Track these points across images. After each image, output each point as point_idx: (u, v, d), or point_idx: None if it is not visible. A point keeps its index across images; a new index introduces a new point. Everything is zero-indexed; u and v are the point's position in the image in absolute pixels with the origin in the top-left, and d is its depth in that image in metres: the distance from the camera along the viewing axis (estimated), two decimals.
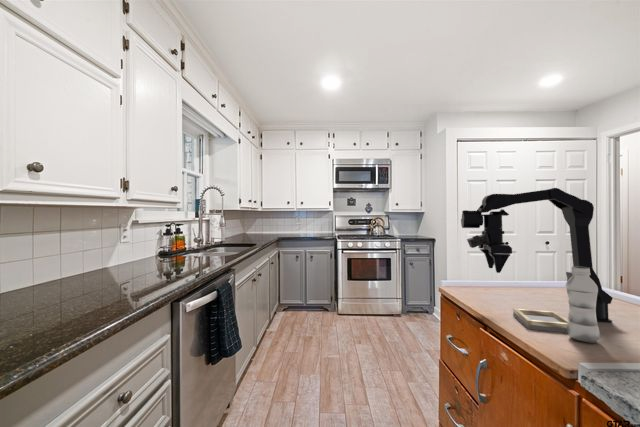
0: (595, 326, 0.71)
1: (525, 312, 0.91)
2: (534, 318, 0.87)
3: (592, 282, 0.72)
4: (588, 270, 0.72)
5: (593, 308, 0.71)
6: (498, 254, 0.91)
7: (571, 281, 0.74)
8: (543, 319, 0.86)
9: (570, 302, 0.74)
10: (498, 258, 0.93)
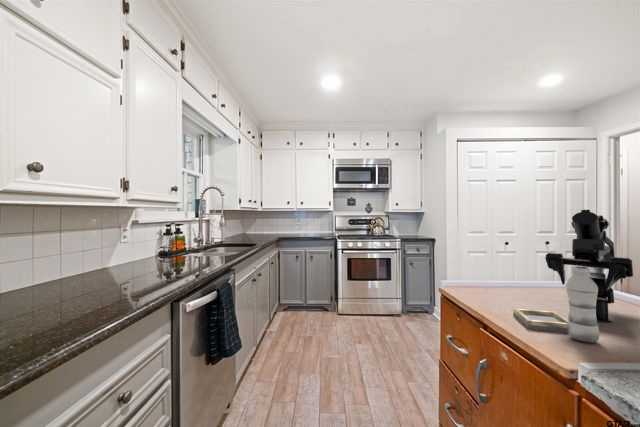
0: (595, 326, 0.71)
1: (525, 312, 0.91)
2: (534, 318, 0.87)
3: (592, 282, 0.72)
4: (588, 270, 0.72)
5: (593, 308, 0.71)
6: (624, 270, 0.75)
7: (571, 281, 0.74)
8: (543, 319, 0.86)
9: (570, 302, 0.74)
10: None
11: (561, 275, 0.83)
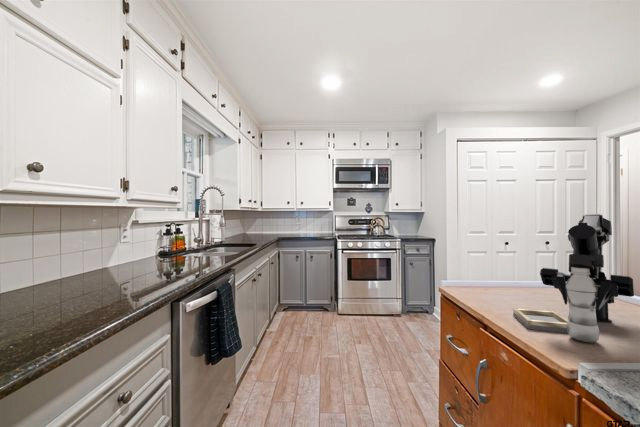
0: (595, 326, 0.71)
1: (525, 312, 0.91)
2: (534, 318, 0.87)
3: (592, 282, 0.72)
4: (588, 270, 0.72)
5: (593, 308, 0.71)
6: (616, 288, 0.71)
7: (570, 281, 0.74)
8: (543, 319, 0.86)
9: (570, 302, 0.74)
10: None
11: (563, 294, 0.76)
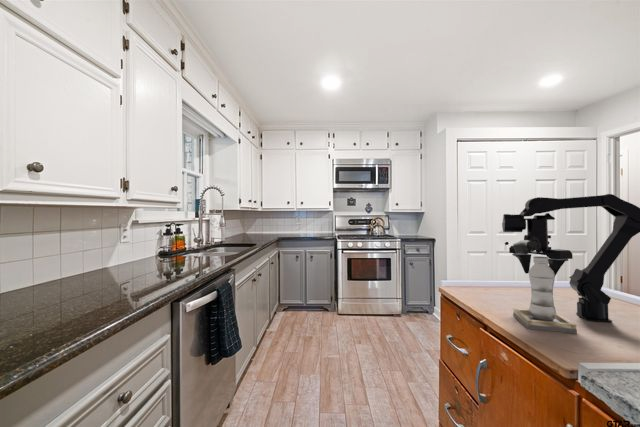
0: (547, 307, 0.83)
1: (525, 312, 0.91)
2: (534, 318, 0.87)
3: (546, 269, 0.83)
4: (544, 259, 0.84)
5: (546, 292, 0.83)
6: (560, 260, 0.88)
7: (531, 268, 0.87)
8: None
9: None
10: (554, 264, 0.90)
11: (523, 266, 1.01)
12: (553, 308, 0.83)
